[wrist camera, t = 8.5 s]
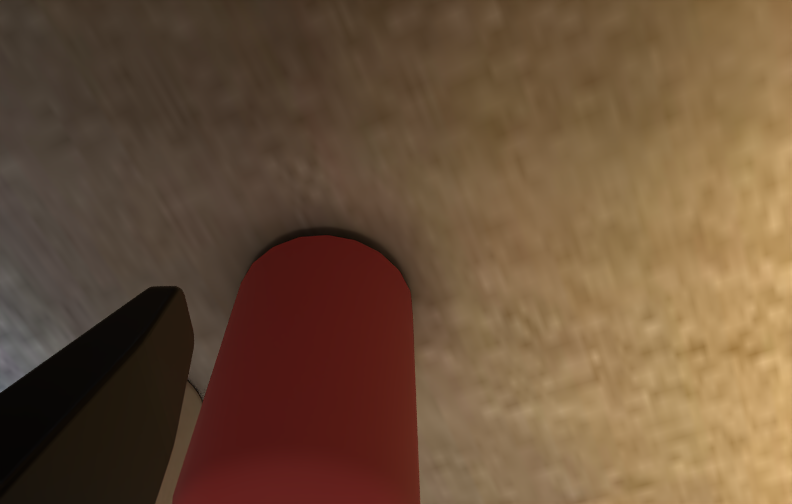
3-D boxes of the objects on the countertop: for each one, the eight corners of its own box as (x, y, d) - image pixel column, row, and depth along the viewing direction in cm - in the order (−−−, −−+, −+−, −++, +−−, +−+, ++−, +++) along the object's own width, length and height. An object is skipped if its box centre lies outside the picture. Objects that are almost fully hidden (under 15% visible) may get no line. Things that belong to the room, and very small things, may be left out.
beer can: (214, 247, 24) (89, 553, 14) (388, 208, 23) (385, 506, 13) (275, 374, 28) (209, 690, 18) (428, 345, 27) (450, 660, 17)
